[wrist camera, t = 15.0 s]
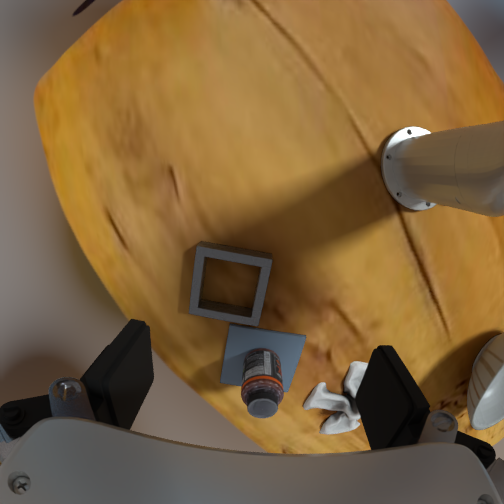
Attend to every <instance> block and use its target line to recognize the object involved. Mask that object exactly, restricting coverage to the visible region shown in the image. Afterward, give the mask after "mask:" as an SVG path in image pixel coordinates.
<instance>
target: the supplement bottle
mask: <svg viewBox="0 0 504 504" xmlns="http://www.w3.org/2000/svg"><path fill="white" fill-rule="evenodd" d="M283 396H284V391H283V380H282V371H281V362H280V359H279V357H278V355H277V354H276V353H275V352H274V351H272V350H270V349H266V348H259V349H255V350H253V351H251V352H249V353H248V354H247V355H246V357H245V359H244V363H243V375H242V388H241V397H242V400H243V402H244V403H245V404H246V405H247V409H248V412H249V413H250V414H251V415H252V416H254V417H257V418H268V417H271V416H273V415H274V414H275V413H276V412H277V410H278V405H279V404H280V402H281V401H282V399H283Z"/></svg>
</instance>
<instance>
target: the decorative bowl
mask: <svg viewBox="0 0 504 504" xmlns="http://www.w3.org/2000/svg"><path fill="white" fill-rule="evenodd" d="M467 409H468V415H469V420H470V423H471V426H472V427H473V428H474V429H476V430H483V429H487V428H489V427H491V426H493V425H495V424H497V423H498V422H500V421H501V420H502V419H504V333H502V334H500V335H497V336H495V337H493V338H492V339H491V340H489V341H488V342H487V343H486V344H485V346H484V347H483V348H482V349H481V351H480V352H479V354H478V355H477V357H476V359H475V361H474V364H473V367H472V375H471V378H470V381H469V386H468V393H467Z"/></svg>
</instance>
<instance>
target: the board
mask: <svg viewBox="0 0 504 504" xmlns="http://www.w3.org/2000/svg"><path fill="white" fill-rule="evenodd" d="M305 340H306V335H300V334H293V333H286V332H279V331H272V330H266V329H259V328H253V327H247V326H242V325H236V324H230V327H229V332H228V338H227V344H226V350H225V356H224V361H223V367H222V373H221V379H220V383H224V384H230V385H236V386H242V375H243V363H244V359H245V357H246V355H247V354H248V353H249V352H251V351H253V350H255V349H259V348H266V349H270V350H272V351H274V352H275V353H276V354H277V355H278V357H279V359H280V362H281V371H282V380H283V391H284V392H288V390H289V387H290V384H291V382H292V379H293V376H294V373H295V370H296V367H297V364H298V361H299V358H300V355H301V352H302V349H303V346H304V343H305Z"/></svg>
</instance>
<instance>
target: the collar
mask: <svg viewBox="0 0 504 504" xmlns="http://www.w3.org/2000/svg"><path fill="white" fill-rule="evenodd" d="M207 257H210V258H216V259H221V260H226V261H232V262H237V263H243V264H248V265H254V266H259V267H260V271H259V276H258V281H257V286H256V290H255V295H254V300H253V305H252V308H246V307H241V306H235V305H230V304H224V303H219V302H214V301H208V300H203V299H202V293H203V285H204V278H205V270H206V263H207ZM272 261H273V259H272V254H270V253H265V252H259V251H254V250H248V249H243V248H237V247H232V246H226V245H221V244H215V243H210V242H204V241H201V242H200V243H199V244H198V245H197V248H196V255H195V263H194V271H193V279H192V288H191V297H190V306H189V314H193V315H198V316H203V317H208V318H213V319H219V320H224V321H229V322H235V323H241V324H246V325H252V326H258V325H259V320H260V316H261V311H262V307H263V302H264V298H265V293H266V289H267V284H268V279H269V275H270V270H271V265H272Z"/></svg>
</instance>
